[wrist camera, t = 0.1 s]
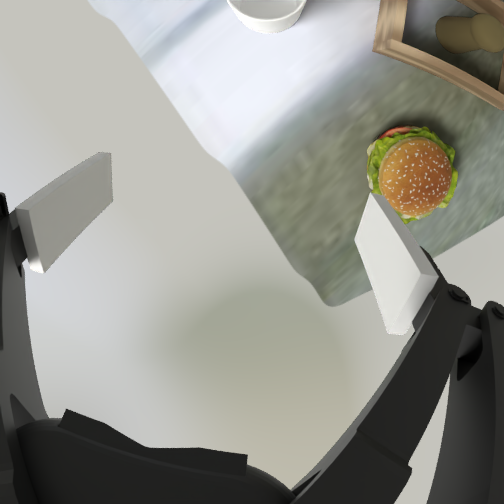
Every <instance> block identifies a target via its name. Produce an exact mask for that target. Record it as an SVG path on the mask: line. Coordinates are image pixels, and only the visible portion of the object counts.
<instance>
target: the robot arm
mask: <svg viewBox="0 0 504 504" xmlns="http://www.w3.org/2000/svg"><path fill="white" fill-rule="evenodd" d="M112 202H113V193H112V168H111V153H104V152H98V153H97V154H95V155H93V156H92V157H90V158H88V159H87V160H85V161H83V162H82V163H80V164H78V165H77V166H75V167H74V168H72V169H70V170H69V171H67V172H66V173H64V174H63V175H61V176H60V177H58V178H56V179H55V180H54V181H52V182H51V183H49V184H48V185H46V186H45V187H43V188H42V189H40V190H39V191H38V192H36V193H35V194H34V195H32V196H31V197H29V198H28V199H26V200H25V201H24V202H22V203H21V204H20V205H18V206H17V207H16V208H15V210H14V211H12V212H11V213H10V214H9V212H8V207H7V202H6V196H5V194H4V193H0V504H394V503H395V501H396V499H397V498H398V496H399V495H400V493H401V492H402V490H403V488H404V487H405V485H406V483H407V482H408V480H409V478H410V476H411V473H412V468H411V467H410V466H408V462H409V460H410V458H411V456H412V454H413V452H414V451H415V449H416V447H417V445H418V443H419V441H420V440H421V438H422V436H423V434H424V432H425V430H426V428H427V425H428V424H429V422H430V419H431V417H432V415H433V413H434V411H435V409H436V406H437V404H438V402H439V399H440V397H441V395H442V392H443V390H444V387H445V385H446V382H447V379H448V377H449V374H450V385H449V395H448V405H447V412H446V419H445V425H444V431H443V437H442V443H441V448H440V453H439V458H438V462H437V467H436V471H435V475H434V479H433V483H432V487H431V490H430V494H429V497H428V500H427V504H504V307H503V306H502V305H501V304H498V303H496V302H494V301H488V302H487V303H486V305H485V306H484V308H483V309H482V310H481V309H478V308H476V307H473V306H471V300H470V298H469V296H468V295H467V294H466V293H465V292H464V291H463V290H462V289H461V288H459V287H457V286H455V285H452V284H448V283H447V281H446V280H445V278H444V276H443V275H442V273H441V272H440V270H439V269H438V268H437V265H436V264H435V262H434V261H433V259H432V258H431V256H430V255H429V253H428V252H427V251H425V250H424V249H423V248H422V247H421V246H419V245H418V243H417V242H416V240H415V239H414V237H413V236H412V234H411V233H410V231H409V230H408V228H407V227H406V226H405V224H404V223H403V221H402V220H401V219H400V217H399V216H398V214H397V213H396V212H395V210H394V209H393V207H392V206H391V205H390V203H389V202H388V201H387V199H386V198H385V197H384V196H383V195H379V194H375V193H371V192H370V194H369V198H368V201H367V204H366V207H365V210H364V213H363V216H362V219H361V222H360V225H359V228H358V231H357V233H356V236H355V239H354V240H355V243H356V245H357V248H358V250H359V253H360V255H361V258H362V261H363V263H364V266H365V269H366V271H367V274H368V277H369V280H370V283H371V285H372V288H373V291H374V294H375V297H376V300H377V303H378V306H379V309H380V312H381V315H382V318H383V321H384V324H385V327H386V330H387V333H389V334H400V335H405V333H406V332H407V330H408V329H409V327H410V325H411V324H413V327H414V329H415V332H414V333H413V335H412V337H411V338H410V339H409V341H408V342H407V344H406V346H405V347H404V348H403V350H402V353H401V355H400V356H399V358H398V359H397V361H396V362H395V364H394V366H393V367H392V369H391V370H390V372H389V373H388V375H387V376H386V378H385V379H384V381H383V382H382V384H381V385H380V387H379V388H378V389H377V391H376V392H375V393H374V395H373V396H372V398H371V399H370V400H369V402H368V403H367V405H366V406H365V407H364V409H363V410H362V411H361V412H360V414H359V415H358V416H357V418H356V419H355V421H354V422H353V423H352V424H351V425H350V427H349V428H348V429H347V430H346V432H345V433H344V434H343V435H342V436H341V438H340V439H339V440H338V441H337V442H336V444H335V445H334V446H333V447H332V448H331V449H330V450H329V452H328V453H327V454H326V455H325V456H324V457H323V459H321V461H320V462H319V463H318V464H317V465H316V466H315V467H314V468H313V469H312V470H311V471H310V472H309V473H308V474H307V475H306V476H305V477H304V478H303V479H302V480H301V481H299V482H298V483H297V484H296V485H295V486H294V487H293V488H292V489H291V490H289V489H288V488H287V487H286V486H285V485H284V484H283V483H281V482H280V481H279V480H277V479H276V478H274V477H273V476H271V475H269V474H268V473H266V472H264V471H262V470H260V469H257V468H255V467H252V466H250V465H247V456H248V455H245V454H238V453H230V452H223V451H217V450H211V449H205V448H149V447H145V446H143V445H141V444H139V443H137V442H136V441H134V440H132V439H130V438H128V437H127V436H125V435H123V434H122V433H120V432H118V431H117V430H115V429H113V428H112V427H110V426H109V425H107V424H105V423H103V422H100V421H97V420H94V419H92V418H89V417H86V416H84V415H81V414H78V413H76V412H73V411H71V410H68V409H66V411H65V413H64V415H63V417H62V418H49V417H48V415H47V414H46V411H45V409H44V405H43V402H42V398H41V393H40V389H39V385H38V381H37V375H36V371H35V365H34V360H33V354H32V348H31V341H30V335H29V326H28V317H27V306H26V293H25V272H24V268H23V265H22V262H23V261H24V260H25V259H26V258H27V259H28V262H29V265H30V269H31V270H33V271H36V272H40V273H45V272H46V271H47V270H48V269H49V267H50V266H51V265H52V264H53V263H54V262H55V260H56V259H57V258H58V257H59V256H60V255H61V254H62V253H63V252H64V251H65V249H66V248H67V247H68V246H69V245H70V244H71V243H72V242H73V241H74V240H75V239H76V237H77V236H78V235H79V234H80V233H81V232H82V231H83V230H84V229H85V228H86V227H87V226H88V225H89V224H90V223H91V222H92V221H93V220H94V219H95V218H96V217H97V216H98V215H99V214H100V213H101V212H102V211H103V210H104V209H105V208H106V207H107V206H108V205H109V204H110V203H112Z"/></svg>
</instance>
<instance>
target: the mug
mask: <svg viewBox="0 0 504 504" xmlns="http://www.w3.org/2000/svg"><path fill="white" fill-rule="evenodd" d="M306 1H307V0H227V2H228V3H229V5H230V6H231V8H232V9H233V11H234V12H235V14H236V15H237V16H238V18H239V19H240V20H241V22H242V23H243V24H244V25H246V26H247V27H248V28H250V29H252V30H254V31H257V32H260V33H268V34H269V33H278V32H282V31H284V30H286V29H288V28H290V27H291V26H292V25H294V24H295V23H296V21H297V20H298V18H299V17H300V15H301V12H302V10H303V8H304V5H305V3H306Z"/></svg>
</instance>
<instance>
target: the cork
mask: <svg viewBox="0 0 504 504" xmlns="http://www.w3.org/2000/svg"><path fill="white" fill-rule="evenodd" d="M436 35H437V38H438V40H439V42H440V44H441V45H442V46H443V47H444V48H445V49H446V50H447V51H449V52H451V53H453V54H461V53H465V52H469V51H474V50H479V49H484V50H486V51H488V52H494V53H496V52H499V51H502V50H503V49H504V27H503V26H502V24H501V23H500V22H499V21H498V20H497V19H496V18H495V17H493V16H492V15H489V14H485V13H480V14H476V15H475V16H474V17H473V18H468V17H450V16H445V17H442V18H440V19H439V20H438V21H437V24H436Z"/></svg>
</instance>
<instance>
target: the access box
mask: <svg viewBox="0 0 504 504" xmlns="http://www.w3.org/2000/svg"><path fill="white" fill-rule="evenodd" d="M457 1H458V2H460V3H462V4H464V5H465V6H467V7H469V8H470V9H472V10H474V11H475V12H477V13H479V14H480V13H485V14H489V15H492V16H493V17H495V18H496V19H497V20H498V21H499V22H500V23H501V24H502V26H503V27H504V3H503V2H502V1H500V0H457ZM407 2H408V0H381V2H380V9H379V15H378V21H377V27H376V33H375V39H374V45H373V50H372V51H373V52H376V53H379V54H382V55H385V56H388V57H391V58H393V59H396V60H399V61H402V62H404V63H407V64H409V65H412V66H414V67H417V68H419V69H422V70H424V71H426V72H429V73H431V74H433V75H435V76H438V77H440V78H442V79H444V80H446V81H448V82H450V83H452V84H454V85H456V86H458V87H460V88H462V89H464V90H466V91H468V92H470V93H472V94H474V95H476V96H477V97H479V98H481V99H483V100H484V101H486V102H488V103H490V104H491V105H493V106H495V107H496V108H498V109H500V110H503V111H504V55H503V62H502V69H501V75H500V81H499V86H498V91H497V90H495V89H494V88H492V87H490V86H489V85H487V84H485V83H484V82H482V81H480V80H479V79H477V78H475V77H473V76H471V75H470V74H468V73H466V72H464V71H462V70H460V69H459V68H457V67H455V66H453V65H451V64H449V63H447V62H445V61H443V60H440V59H438V58H436V57H434V56H432V55H430V54H427V53H425V52H423V51H421V50H418V49H416V48H413V47H411V46H408V45H406V44H403V43H401V42H402V36H403V30H404V23H405V17H406V10H407Z"/></svg>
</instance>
